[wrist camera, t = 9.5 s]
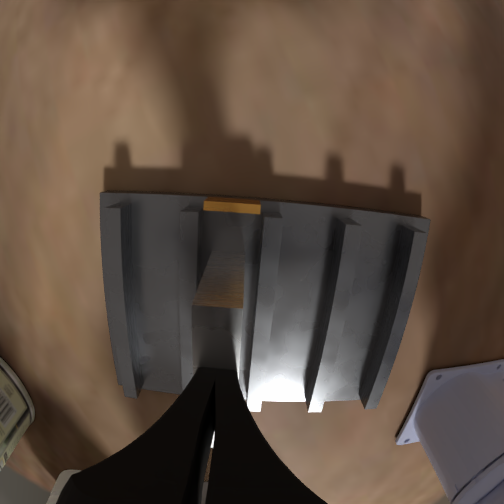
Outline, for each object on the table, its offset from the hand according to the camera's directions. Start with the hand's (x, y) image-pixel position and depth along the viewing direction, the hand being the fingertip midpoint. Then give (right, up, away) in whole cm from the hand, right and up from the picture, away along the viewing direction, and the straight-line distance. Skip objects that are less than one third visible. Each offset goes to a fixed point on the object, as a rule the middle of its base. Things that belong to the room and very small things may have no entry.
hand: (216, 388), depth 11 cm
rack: (+2, +2, +7) cm, 7 cm away
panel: (0, +2, +6) cm, 6 cm away
